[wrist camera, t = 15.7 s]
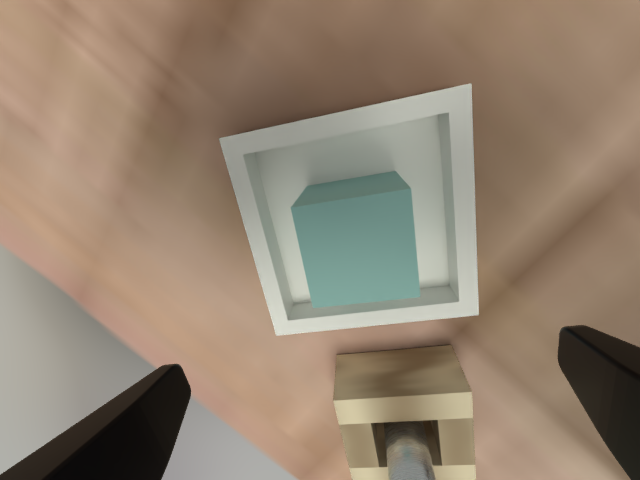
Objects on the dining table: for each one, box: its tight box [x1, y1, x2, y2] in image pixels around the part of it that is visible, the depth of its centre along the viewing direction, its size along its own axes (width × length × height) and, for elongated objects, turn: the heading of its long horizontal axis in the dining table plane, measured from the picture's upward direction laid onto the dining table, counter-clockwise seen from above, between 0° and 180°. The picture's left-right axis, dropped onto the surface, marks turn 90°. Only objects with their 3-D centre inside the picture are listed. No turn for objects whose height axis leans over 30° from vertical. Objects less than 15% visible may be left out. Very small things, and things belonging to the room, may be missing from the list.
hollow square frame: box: [333, 345, 476, 480], centre depth 21 cm, size 8×8×4 cm
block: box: [291, 171, 420, 308], centre depth 16 cm, size 5×5×5 cm
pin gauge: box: [383, 421, 436, 480], centre depth 19 cm, size 3×3×9 cm
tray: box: [219, 83, 479, 336], centre depth 18 cm, size 12×12×2 cm
